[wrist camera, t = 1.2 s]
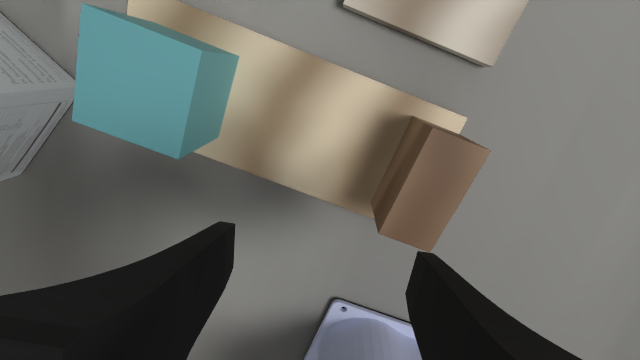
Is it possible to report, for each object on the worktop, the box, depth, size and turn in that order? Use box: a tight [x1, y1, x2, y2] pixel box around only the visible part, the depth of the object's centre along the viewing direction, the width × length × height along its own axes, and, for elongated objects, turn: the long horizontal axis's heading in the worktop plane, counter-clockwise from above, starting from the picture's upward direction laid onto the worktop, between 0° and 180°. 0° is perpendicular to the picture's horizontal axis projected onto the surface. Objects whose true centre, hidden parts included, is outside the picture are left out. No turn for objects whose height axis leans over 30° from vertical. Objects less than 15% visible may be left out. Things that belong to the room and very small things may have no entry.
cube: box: [72, 3, 239, 160], centre depth 15 cm, size 5×5×5 cm
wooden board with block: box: [127, 0, 491, 252], centre depth 17 cm, size 20×8×5 cm, turn 69°
